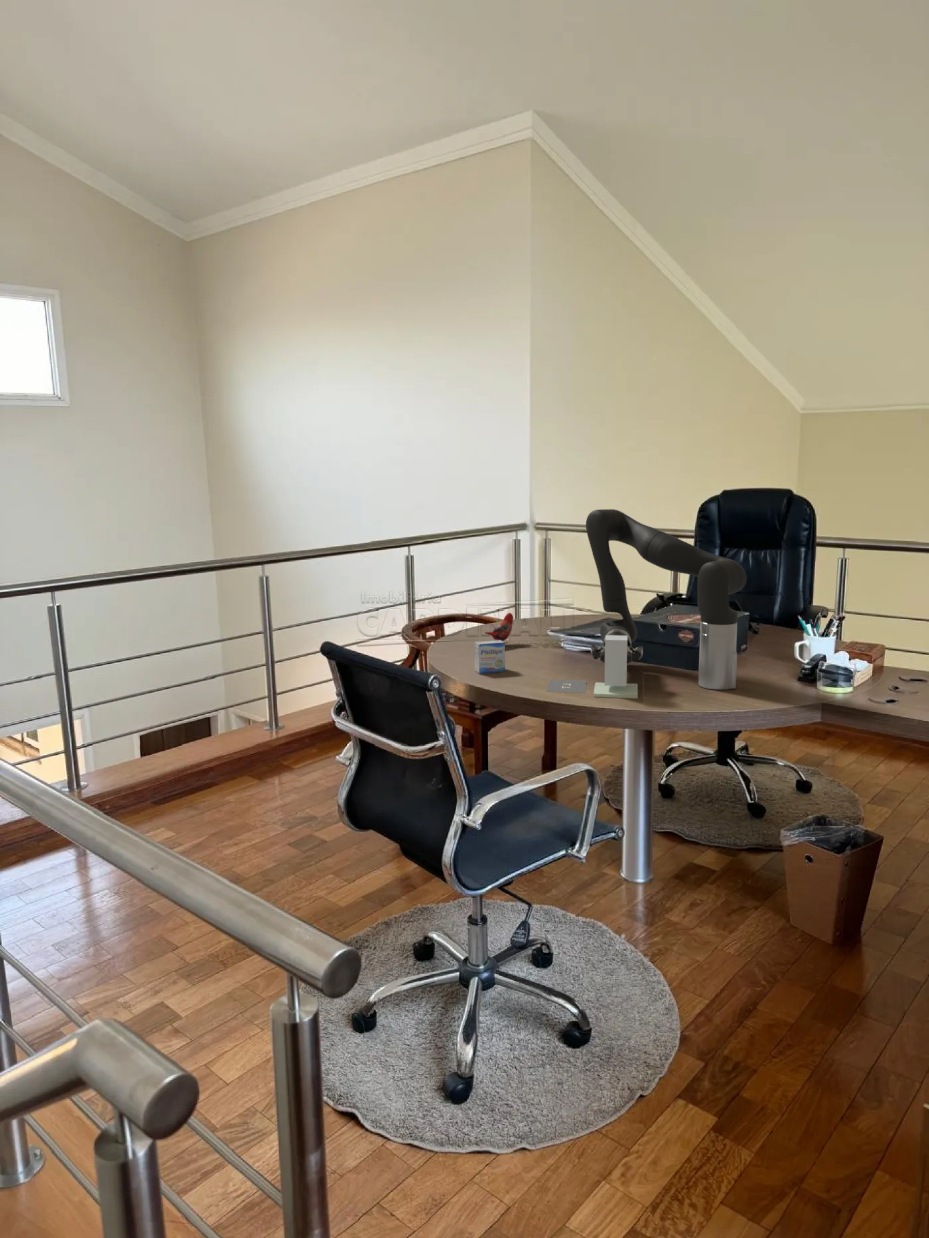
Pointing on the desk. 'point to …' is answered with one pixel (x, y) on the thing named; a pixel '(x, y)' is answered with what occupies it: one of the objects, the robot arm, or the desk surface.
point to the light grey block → (615, 660)
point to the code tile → (566, 686)
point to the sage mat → (616, 691)
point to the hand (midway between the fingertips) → (616, 659)
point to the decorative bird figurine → (503, 628)
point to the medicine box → (489, 656)
